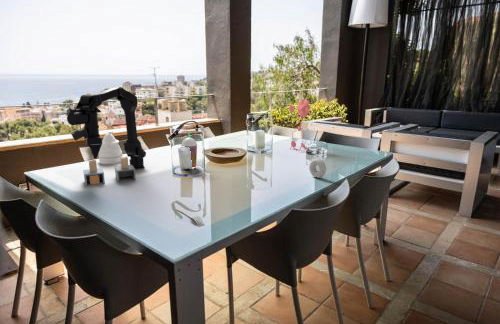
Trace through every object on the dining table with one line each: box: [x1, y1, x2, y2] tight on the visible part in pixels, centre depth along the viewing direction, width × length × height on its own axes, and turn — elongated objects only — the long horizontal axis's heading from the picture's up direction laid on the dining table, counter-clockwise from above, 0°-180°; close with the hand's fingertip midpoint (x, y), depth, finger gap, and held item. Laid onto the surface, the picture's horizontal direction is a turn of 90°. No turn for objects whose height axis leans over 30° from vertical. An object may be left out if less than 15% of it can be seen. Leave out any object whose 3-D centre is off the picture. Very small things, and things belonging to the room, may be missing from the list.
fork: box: [174, 207, 206, 228], centre depth 124 cm, size 3×21×3 cm, turn 36°
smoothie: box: [181, 132, 198, 168], centre depth 183 cm, size 8×8×20 cm
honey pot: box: [98, 130, 123, 165], centre depth 198 cm, size 13×13×18 cm
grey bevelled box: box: [114, 156, 137, 182], centre depth 166 cm, size 8×8×10 cm
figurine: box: [288, 98, 316, 152], centre depth 232 cm, size 15×26×35 cm, turn 34°
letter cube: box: [89, 174, 100, 185], centre depth 161 cm, size 4×4×4 cm
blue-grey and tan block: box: [82, 159, 106, 187], centre depth 160 cm, size 8×8×10 cm
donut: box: [308, 157, 327, 179], centre depth 171 cm, size 10×3×10 cm, turn 38°
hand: (94, 156), depth 158 cm, fingers open, 9 cm apart
